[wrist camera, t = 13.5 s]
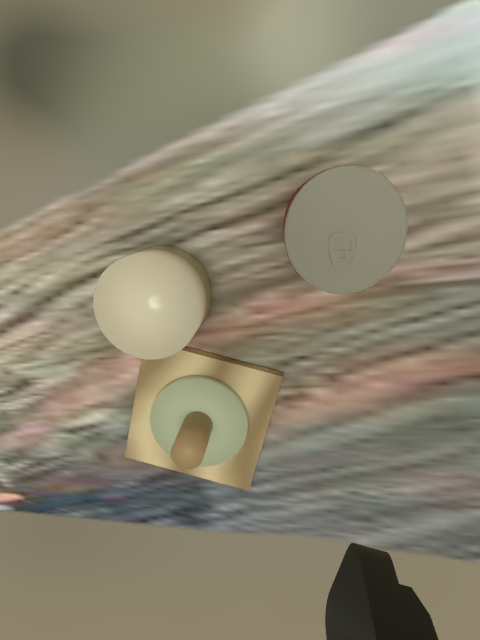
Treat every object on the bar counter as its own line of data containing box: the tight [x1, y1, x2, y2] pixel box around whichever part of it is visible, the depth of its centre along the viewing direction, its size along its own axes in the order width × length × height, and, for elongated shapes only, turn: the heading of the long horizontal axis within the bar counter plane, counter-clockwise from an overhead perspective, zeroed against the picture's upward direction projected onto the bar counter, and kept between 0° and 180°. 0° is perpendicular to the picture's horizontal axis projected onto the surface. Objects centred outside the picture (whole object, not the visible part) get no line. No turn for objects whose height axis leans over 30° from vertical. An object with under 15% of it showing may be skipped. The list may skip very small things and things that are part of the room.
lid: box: [150, 375, 248, 469], centre depth 39 cm, size 10×10×6 cm
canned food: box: [284, 165, 408, 294], centre depth 30 cm, size 8×8×11 cm
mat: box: [125, 347, 283, 491], centre depth 42 cm, size 14×14×1 cm
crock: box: [93, 246, 212, 360], centre depth 36 cm, size 9×9×6 cm
